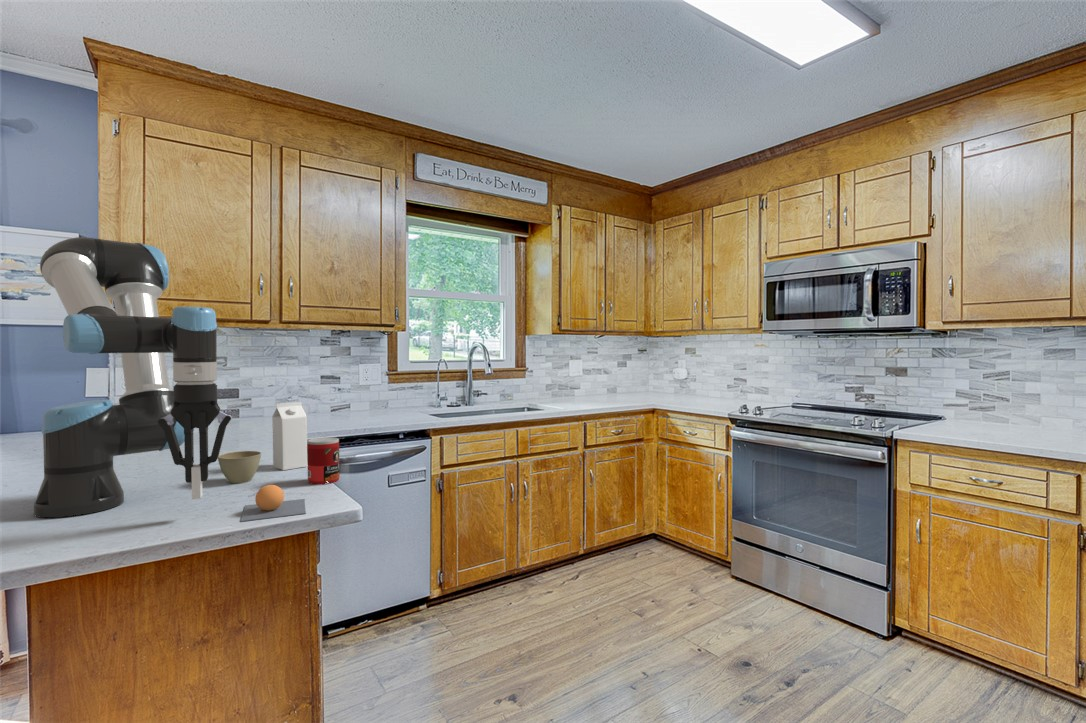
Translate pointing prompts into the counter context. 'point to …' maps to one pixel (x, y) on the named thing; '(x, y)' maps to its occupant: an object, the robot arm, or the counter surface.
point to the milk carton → (289, 436)
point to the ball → (269, 497)
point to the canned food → (323, 460)
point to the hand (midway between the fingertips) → (197, 497)
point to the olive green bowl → (239, 465)
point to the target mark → (283, 510)
